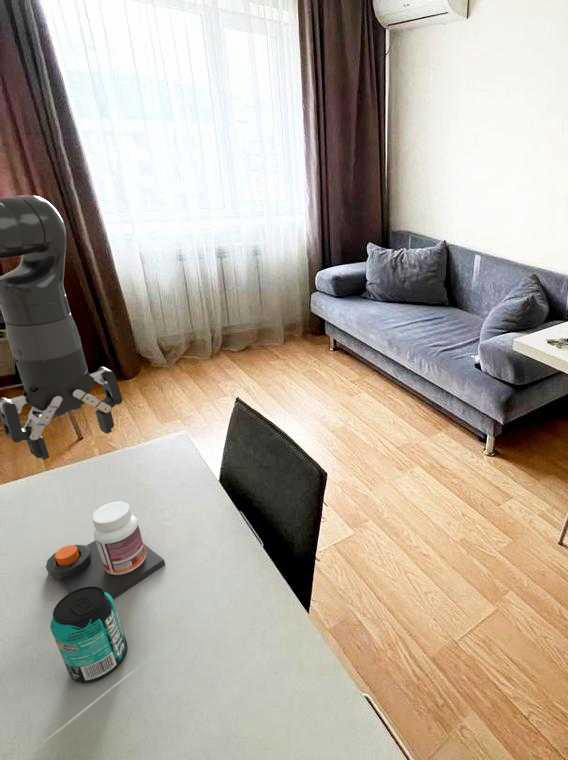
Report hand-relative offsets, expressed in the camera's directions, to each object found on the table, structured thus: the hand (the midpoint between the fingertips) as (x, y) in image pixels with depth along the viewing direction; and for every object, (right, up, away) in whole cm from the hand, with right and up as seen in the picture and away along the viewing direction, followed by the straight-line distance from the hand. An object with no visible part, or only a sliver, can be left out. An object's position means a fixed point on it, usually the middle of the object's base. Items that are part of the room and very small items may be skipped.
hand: (76, 443), depth 75 cm
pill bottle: (+1, -22, +10) cm, 25 cm away
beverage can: (+7, -31, -4) cm, 32 cm away
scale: (-2, -24, +10) cm, 26 cm away
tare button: (-8, -21, +9) cm, 24 cm away
